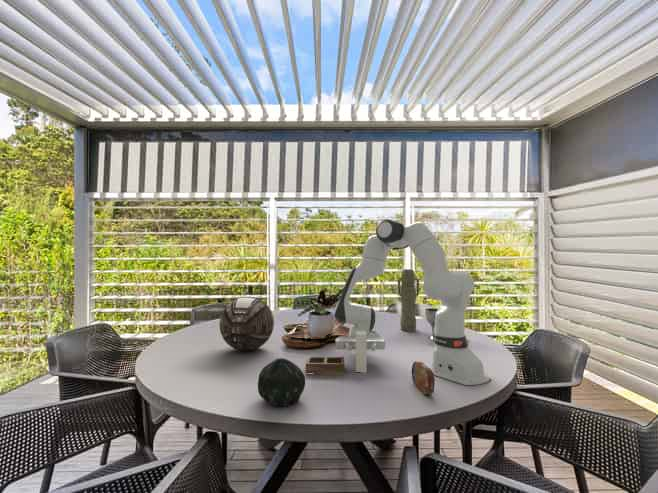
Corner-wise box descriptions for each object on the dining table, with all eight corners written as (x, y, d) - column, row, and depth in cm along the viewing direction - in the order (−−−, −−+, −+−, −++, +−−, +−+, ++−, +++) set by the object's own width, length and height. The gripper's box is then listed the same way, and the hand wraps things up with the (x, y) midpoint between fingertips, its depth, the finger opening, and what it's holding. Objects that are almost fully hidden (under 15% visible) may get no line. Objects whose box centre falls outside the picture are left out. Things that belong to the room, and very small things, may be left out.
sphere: (279, 343, 181) (279, 293, 181) (265, 359, 156) (265, 301, 156) (231, 341, 183) (231, 292, 183) (210, 357, 158) (210, 300, 158)
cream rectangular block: (355, 368, 144) (355, 331, 144) (365, 368, 144) (365, 331, 144) (356, 373, 139) (356, 334, 139) (366, 373, 139) (366, 334, 139)
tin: (410, 381, 131) (410, 358, 131) (419, 380, 131) (419, 357, 131) (427, 399, 116) (427, 373, 116) (436, 398, 116) (436, 372, 116)
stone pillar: (396, 328, 212) (396, 269, 212) (415, 327, 214) (415, 269, 213) (400, 332, 204) (400, 270, 203) (420, 331, 205) (420, 270, 205)
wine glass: (442, 339, 187) (442, 311, 187) (427, 339, 187) (427, 311, 187) (438, 336, 195) (438, 308, 195) (423, 335, 195) (423, 308, 195)
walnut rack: (307, 366, 147) (307, 356, 147) (344, 366, 146) (344, 356, 146) (305, 374, 138) (305, 363, 138) (344, 374, 137) (344, 364, 137)
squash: (287, 370, 127) (266, 344, 118) (320, 382, 117) (299, 355, 109) (263, 407, 119) (239, 382, 111) (296, 423, 109) (272, 397, 101)
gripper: (335, 331, 155) (334, 340, 141) (383, 332, 154) (387, 340, 140) (335, 346, 155) (334, 356, 141) (383, 346, 154) (387, 356, 140)
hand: (361, 348), depth 140 cm, fingers open, 8 cm apart
